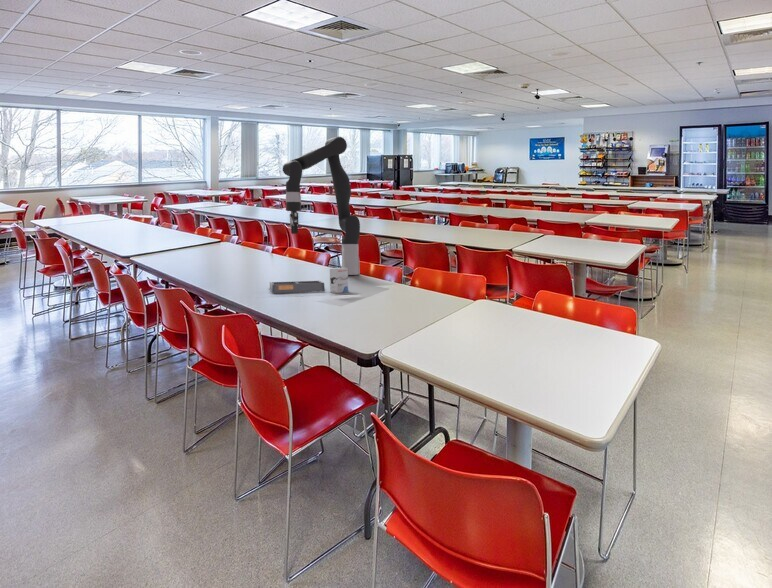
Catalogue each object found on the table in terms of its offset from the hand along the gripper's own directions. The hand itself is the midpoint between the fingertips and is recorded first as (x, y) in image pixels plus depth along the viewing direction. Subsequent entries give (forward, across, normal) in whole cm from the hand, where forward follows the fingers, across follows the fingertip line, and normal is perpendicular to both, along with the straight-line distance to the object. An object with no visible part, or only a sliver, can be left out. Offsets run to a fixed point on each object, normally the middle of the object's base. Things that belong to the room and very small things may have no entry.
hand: (294, 233), depth 245 cm
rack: (+29, -10, +1) cm, 30 cm away
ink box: (+29, -20, -18) cm, 40 cm away
